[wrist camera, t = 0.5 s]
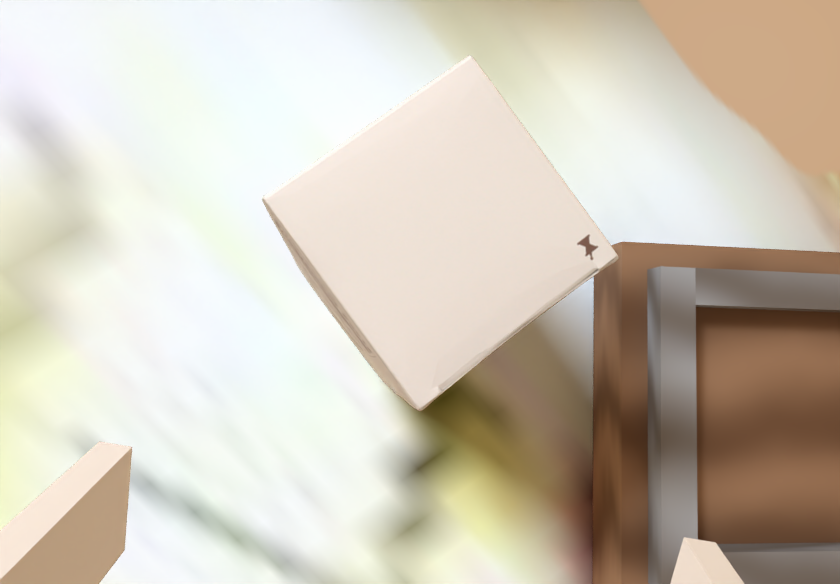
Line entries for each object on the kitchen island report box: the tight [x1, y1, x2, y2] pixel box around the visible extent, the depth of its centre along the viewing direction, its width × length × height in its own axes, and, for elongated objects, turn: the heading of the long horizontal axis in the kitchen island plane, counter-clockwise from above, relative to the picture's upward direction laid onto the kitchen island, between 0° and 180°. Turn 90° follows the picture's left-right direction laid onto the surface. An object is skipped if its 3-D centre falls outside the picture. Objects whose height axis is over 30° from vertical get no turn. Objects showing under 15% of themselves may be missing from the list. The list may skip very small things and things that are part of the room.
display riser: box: [592, 242, 840, 584], centre depth 38 cm, size 20×20×6 cm
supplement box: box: [262, 55, 618, 411], centre depth 31 cm, size 10×9×17 cm
